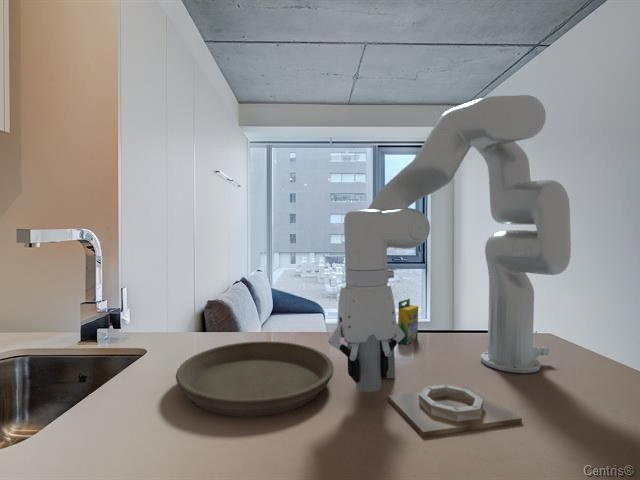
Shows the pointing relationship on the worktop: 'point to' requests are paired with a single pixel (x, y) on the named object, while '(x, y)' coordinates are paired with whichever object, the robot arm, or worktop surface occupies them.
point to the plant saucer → (254, 377)
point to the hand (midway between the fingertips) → (368, 376)
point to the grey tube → (369, 365)
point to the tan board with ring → (451, 410)
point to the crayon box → (408, 321)
